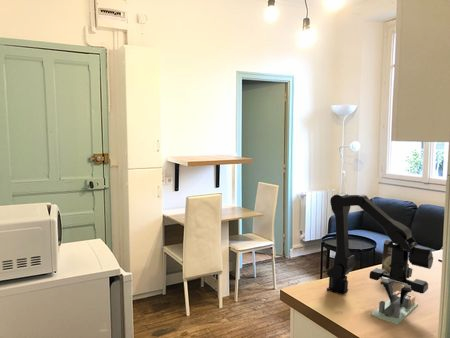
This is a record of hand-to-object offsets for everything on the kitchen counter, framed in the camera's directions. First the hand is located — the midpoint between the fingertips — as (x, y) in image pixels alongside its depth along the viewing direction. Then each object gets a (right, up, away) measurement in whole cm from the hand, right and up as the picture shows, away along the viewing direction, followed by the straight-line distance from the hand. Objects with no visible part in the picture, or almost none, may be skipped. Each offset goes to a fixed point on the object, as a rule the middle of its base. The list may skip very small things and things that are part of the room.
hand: (396, 302), depth 135 cm
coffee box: (+12, 0, +30) cm, 32 cm away
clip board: (-1, -3, 0) cm, 3 cm away
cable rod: (-1, -2, 0) cm, 2 cm away
